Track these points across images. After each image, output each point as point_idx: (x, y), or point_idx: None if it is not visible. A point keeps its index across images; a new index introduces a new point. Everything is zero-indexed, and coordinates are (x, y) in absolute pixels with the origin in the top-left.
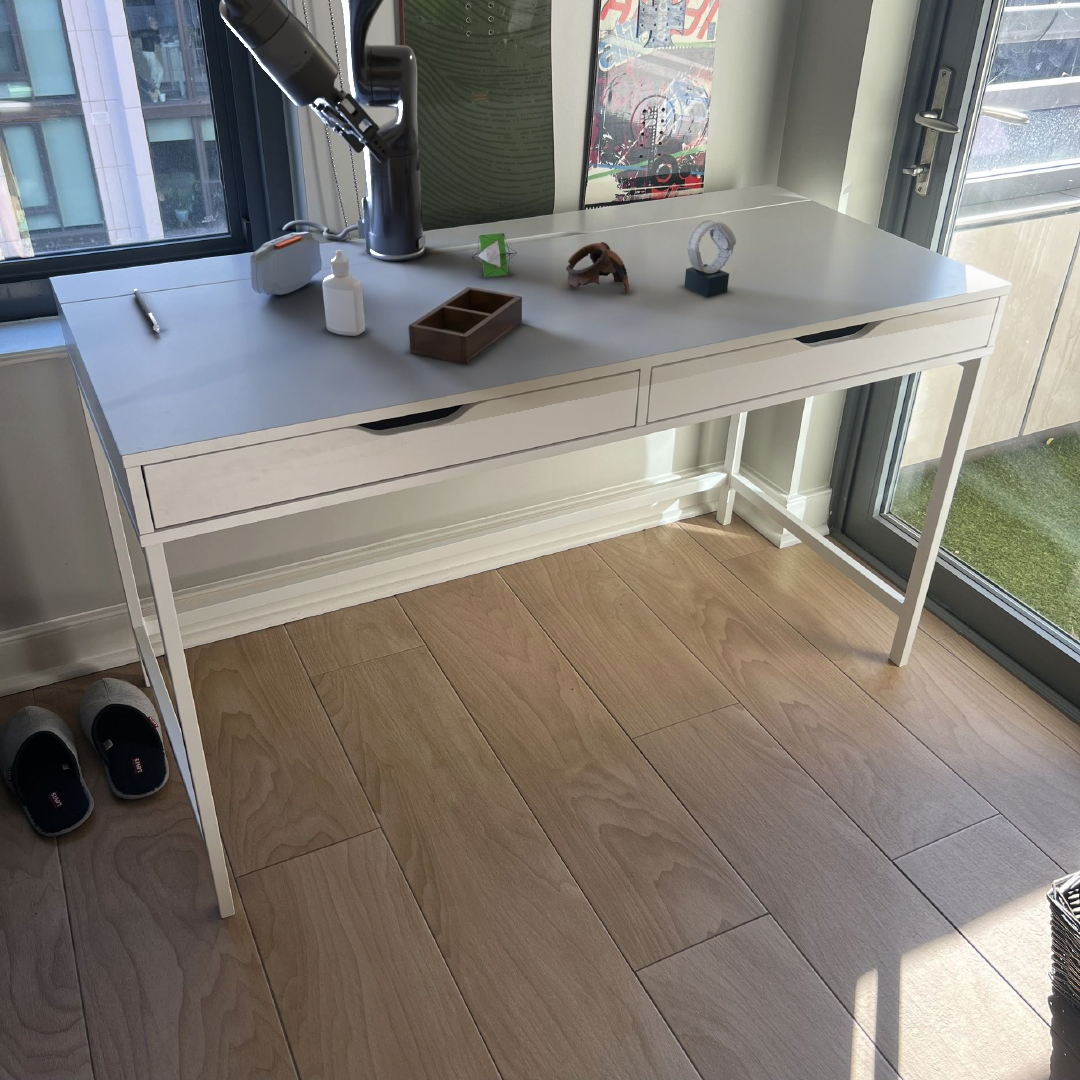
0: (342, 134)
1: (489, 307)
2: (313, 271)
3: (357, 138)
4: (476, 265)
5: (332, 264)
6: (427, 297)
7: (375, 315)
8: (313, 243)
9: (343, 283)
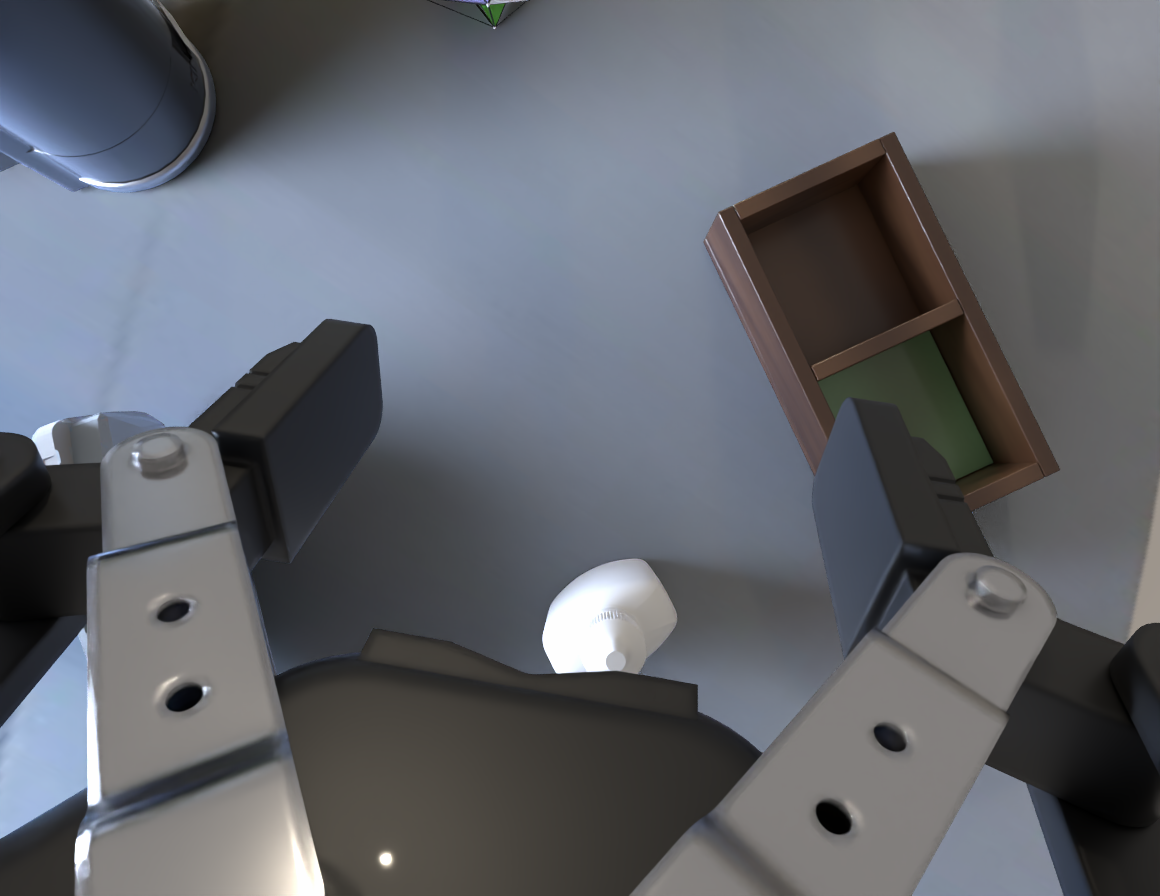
0: (294, 550)
1: (788, 210)
2: None
3: (337, 404)
4: (451, 9)
5: None
6: (525, 263)
7: (552, 466)
8: (114, 445)
9: (653, 651)
